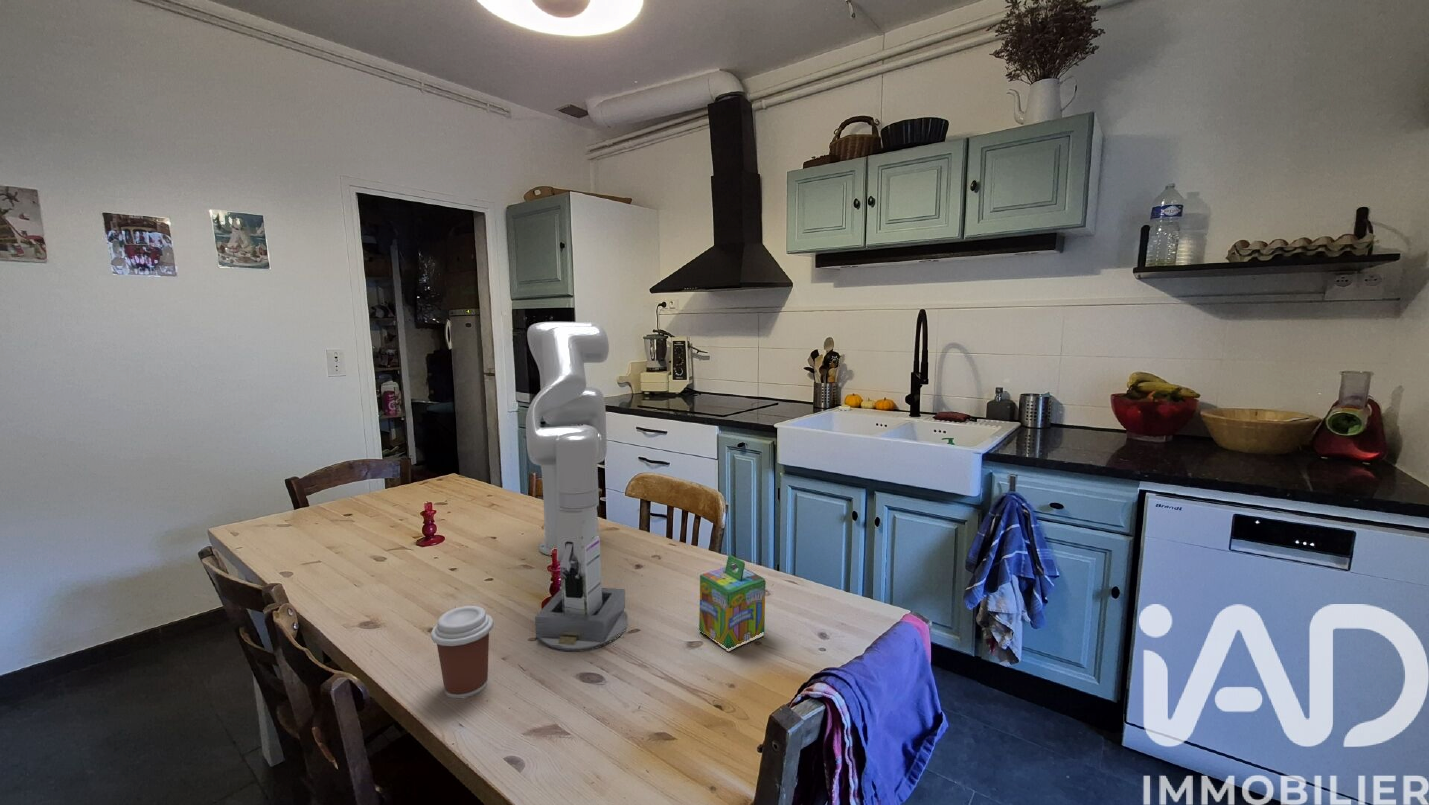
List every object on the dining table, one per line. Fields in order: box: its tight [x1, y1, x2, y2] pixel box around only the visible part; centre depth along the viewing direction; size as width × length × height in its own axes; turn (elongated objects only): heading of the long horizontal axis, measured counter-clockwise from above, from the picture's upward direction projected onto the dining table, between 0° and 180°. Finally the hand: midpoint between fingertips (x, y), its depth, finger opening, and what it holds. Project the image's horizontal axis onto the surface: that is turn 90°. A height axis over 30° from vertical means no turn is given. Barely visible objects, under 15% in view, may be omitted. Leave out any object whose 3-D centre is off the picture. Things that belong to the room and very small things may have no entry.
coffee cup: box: [430, 605, 494, 699], centre depth 90 cm, size 9×9×12 cm
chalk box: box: [698, 555, 767, 649], centre depth 105 cm, size 9×9×15 cm
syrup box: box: [559, 536, 602, 615], centre depth 108 cm, size 6×6×14 cm
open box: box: [534, 587, 628, 652], centre depth 108 cm, size 17×17×5 cm
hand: (581, 587), depth 108 cm, fingers closed on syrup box, 6 cm apart
